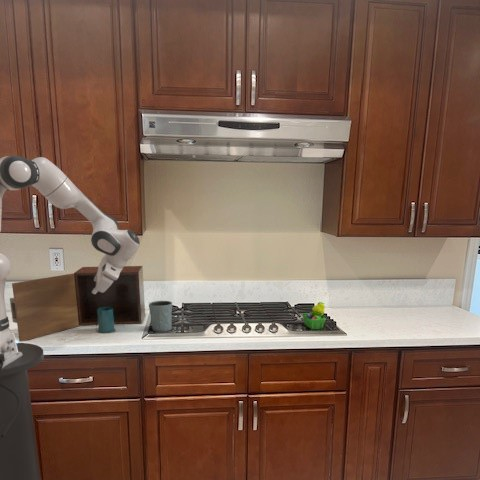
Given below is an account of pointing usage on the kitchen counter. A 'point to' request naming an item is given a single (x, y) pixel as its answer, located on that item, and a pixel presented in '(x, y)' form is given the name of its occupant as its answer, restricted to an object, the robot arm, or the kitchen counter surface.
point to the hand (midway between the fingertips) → (94, 286)
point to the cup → (105, 319)
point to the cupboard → (111, 296)
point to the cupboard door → (44, 306)
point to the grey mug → (161, 315)
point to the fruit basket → (315, 317)
